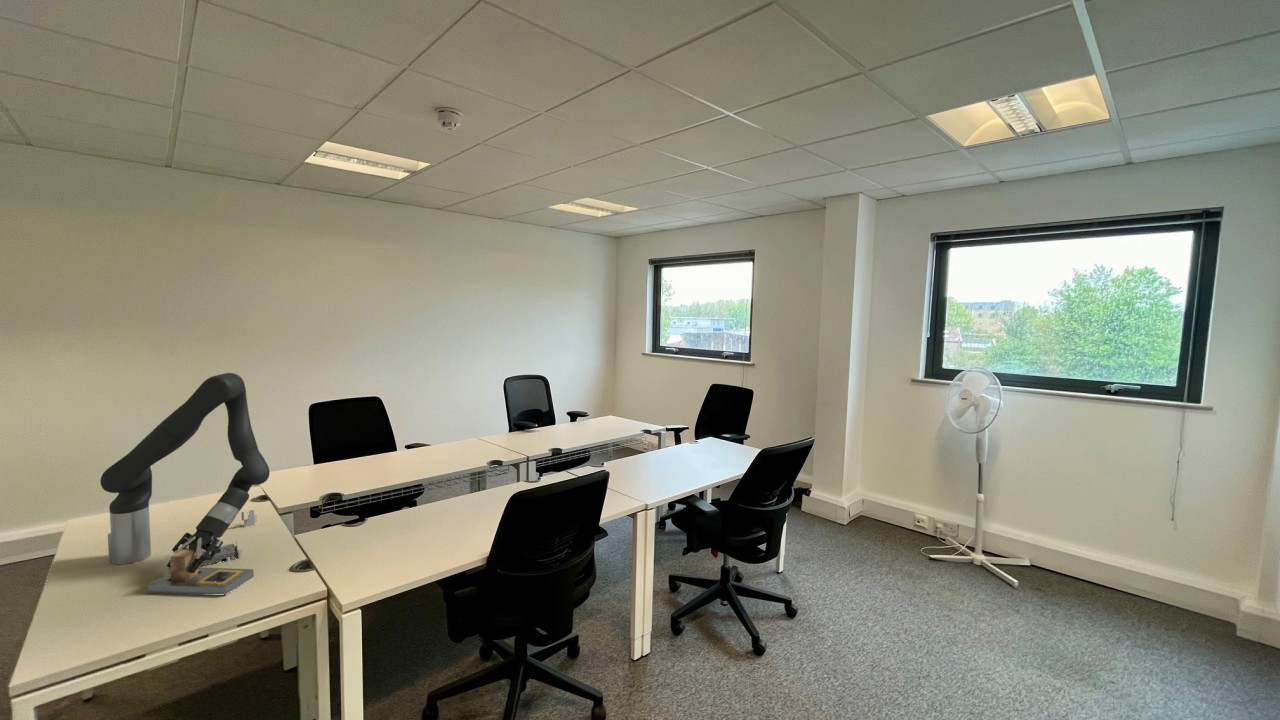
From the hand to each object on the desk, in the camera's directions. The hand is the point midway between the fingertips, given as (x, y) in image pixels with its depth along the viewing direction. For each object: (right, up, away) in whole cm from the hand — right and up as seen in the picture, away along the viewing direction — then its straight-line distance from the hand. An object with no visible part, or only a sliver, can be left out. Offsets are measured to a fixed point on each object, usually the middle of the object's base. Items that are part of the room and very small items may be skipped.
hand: (179, 570), depth 153 cm
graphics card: (-6, -4, +18) cm, 19 cm away
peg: (0, -5, +2) cm, 5 cm away
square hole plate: (+6, -5, +2) cm, 8 cm away
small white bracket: (-18, -1, +44) cm, 47 cm away
